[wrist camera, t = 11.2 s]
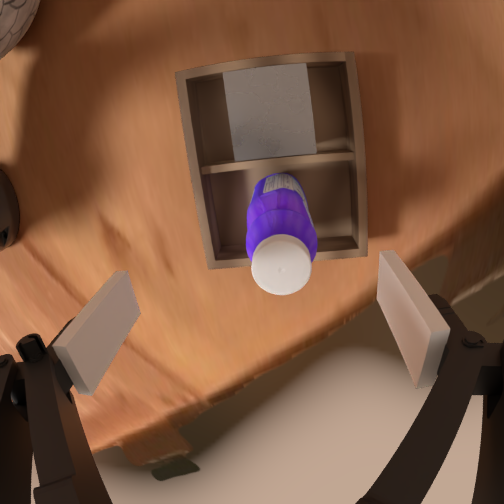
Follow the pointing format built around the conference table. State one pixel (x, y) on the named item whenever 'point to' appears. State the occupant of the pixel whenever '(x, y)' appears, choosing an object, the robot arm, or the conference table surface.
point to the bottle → (280, 235)
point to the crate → (278, 159)
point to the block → (270, 111)
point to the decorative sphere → (15, 22)
